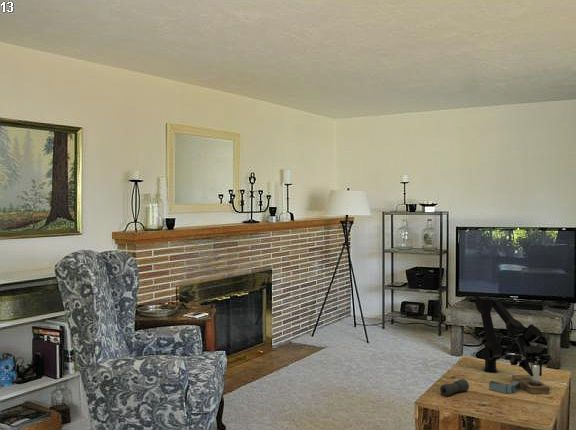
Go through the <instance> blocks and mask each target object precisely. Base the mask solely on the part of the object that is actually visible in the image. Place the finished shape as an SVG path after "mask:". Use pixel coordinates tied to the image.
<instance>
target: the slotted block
mask: <svg viewBox="0 0 576 430" xmlns="http://www.w3.org/2000/svg"><path fill="white" fill-rule="evenodd" d="M512 381H519V382H520V389H523V390H524V389H525V390H524V391H526V392H528V393H529V394H530V395H541V394H543V395H546V394H547V395H548V394H550V387H549V385H546V384H545V383H543V382H541V381H540V382H539V386H532V385H530V375H529V374H521V375H520V374H519V375H518V374H517V375H516V374H513V375H512V376H511V382H512Z"/></svg>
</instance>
